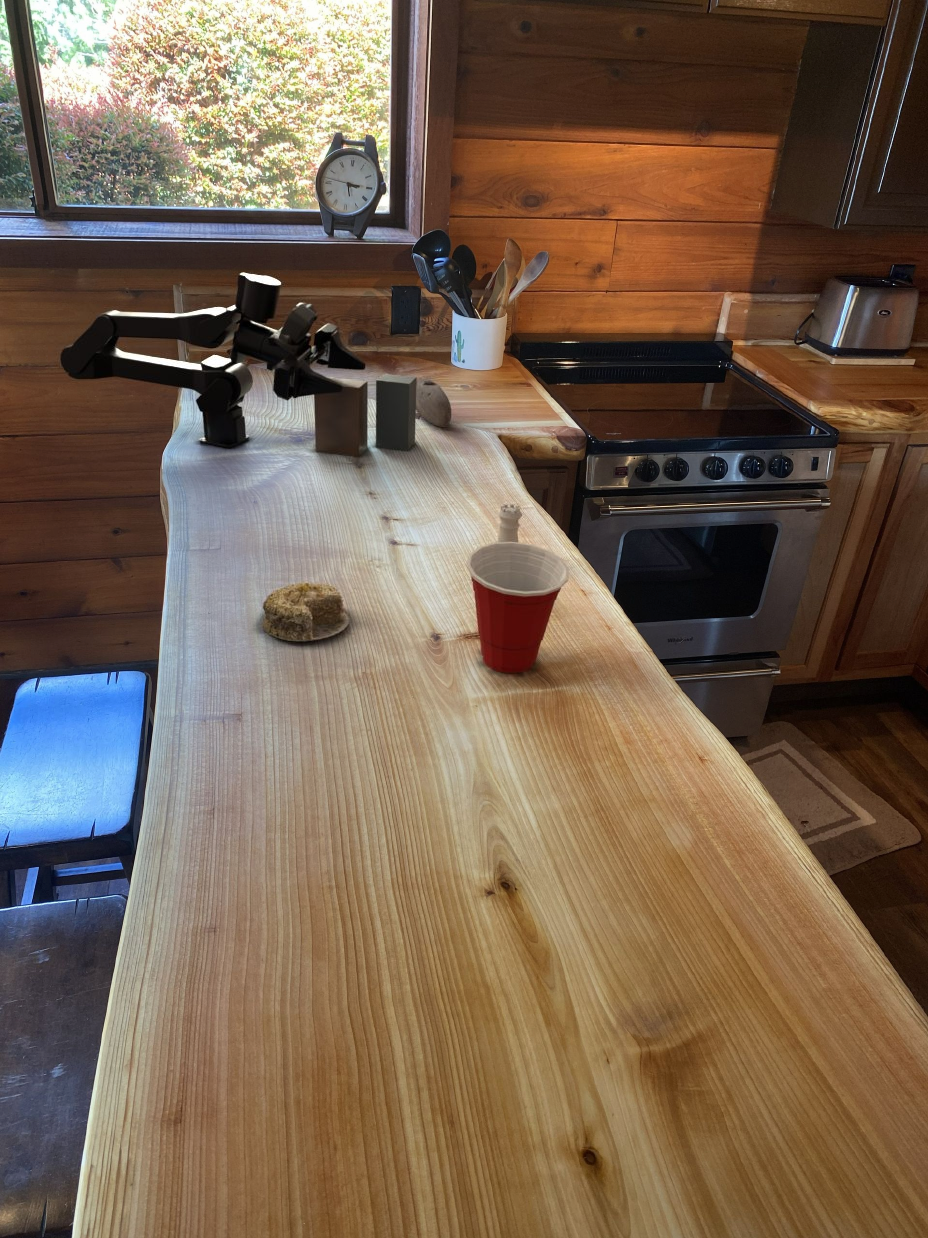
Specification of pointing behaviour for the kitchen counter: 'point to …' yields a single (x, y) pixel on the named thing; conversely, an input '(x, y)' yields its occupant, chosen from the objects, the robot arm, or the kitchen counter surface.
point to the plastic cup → (514, 600)
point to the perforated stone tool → (432, 403)
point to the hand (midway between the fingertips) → (353, 377)
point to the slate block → (395, 411)
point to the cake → (304, 612)
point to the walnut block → (342, 419)
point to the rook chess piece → (509, 523)
